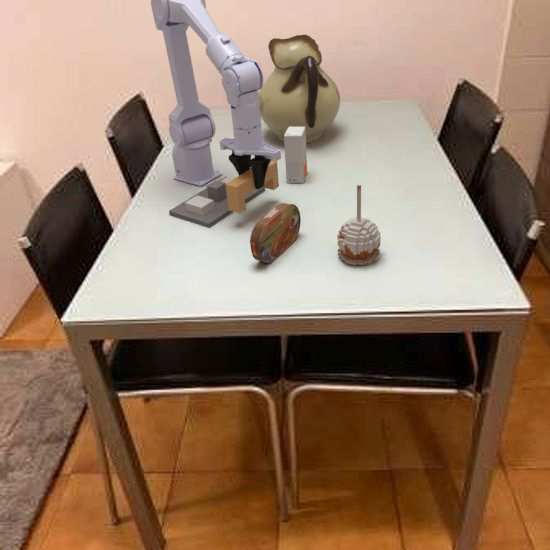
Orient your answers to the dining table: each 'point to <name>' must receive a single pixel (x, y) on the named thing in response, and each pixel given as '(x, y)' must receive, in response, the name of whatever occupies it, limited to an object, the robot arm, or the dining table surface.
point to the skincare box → (295, 154)
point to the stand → (209, 204)
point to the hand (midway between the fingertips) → (253, 185)
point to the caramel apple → (359, 238)
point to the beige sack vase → (298, 89)
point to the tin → (275, 232)
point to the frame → (249, 187)
